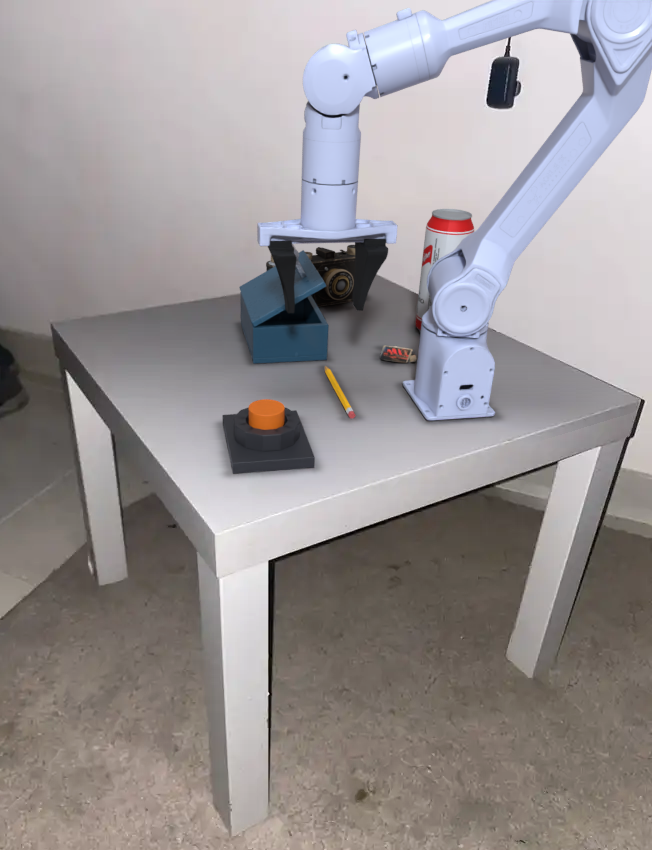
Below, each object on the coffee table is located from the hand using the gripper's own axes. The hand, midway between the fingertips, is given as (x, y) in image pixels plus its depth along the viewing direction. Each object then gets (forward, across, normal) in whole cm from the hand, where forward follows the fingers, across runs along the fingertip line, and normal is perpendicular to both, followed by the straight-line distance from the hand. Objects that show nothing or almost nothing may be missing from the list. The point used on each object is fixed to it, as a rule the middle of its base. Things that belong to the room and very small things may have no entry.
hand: (324, 308), depth 85 cm
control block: (+10, +8, +12) cm, 17 cm away
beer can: (+10, -20, -16) cm, 28 cm away
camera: (+10, -6, -28) cm, 31 cm away
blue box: (+10, +2, -15) cm, 18 cm away
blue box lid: (+3, +2, -15) cm, 16 cm away
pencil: (+10, -2, 0) cm, 10 cm away
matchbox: (+10, -12, -8) cm, 18 cm away
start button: (+7, +8, +12) cm, 16 cm away
